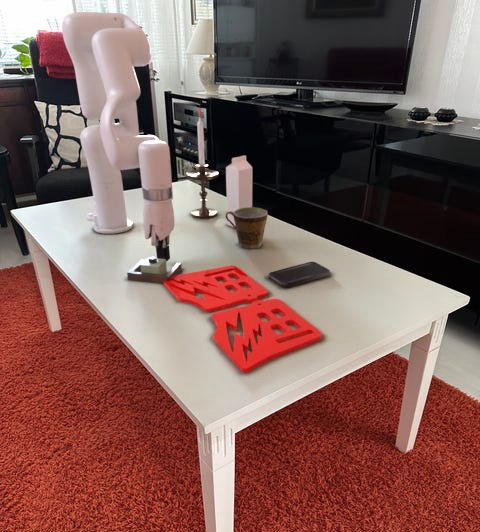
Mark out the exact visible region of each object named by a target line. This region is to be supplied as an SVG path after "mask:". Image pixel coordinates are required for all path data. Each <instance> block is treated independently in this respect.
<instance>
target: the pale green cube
mask: <svg viewBox="0 0 480 532" xmlns="http://www.w3.org/2000/svg"><path fill="white" fill-rule="evenodd" d="M145 259H146V260H145V261H144V262H143V263H142V264H141V265H140V267H141V272H143V273H153V274H162V275H166V274H167V273H168V268H167V261H166V259H158V258H157V255H151V256H149V257H147V258H145Z"/></svg>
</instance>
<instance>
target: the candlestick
mask: <svg viewBox="0 0 480 532" xmlns="http://www.w3.org/2000/svg"><path fill="white" fill-rule="evenodd" d="M201 116H202V110H201V107H199V108H198V121H197V123H196V126H197V148H198V163H197V164H196V165H195V166H196V167H198V169H192V170H189V171H187V172H186V173H185V174H186V178H187V179H189V180H193V181H198V182H199V181H200V191H199V193H198V194H199V196H200V199H199V202H201V208H200V207H199V208H196V209H193V210H192V211H191V217H193V218H195V219H201V220H202V219H205V220H206V219H213V218H215V217H217V215H218V210H216V209H215V208H210V207H207V202H208V199H207V196H208V192H207V191H206V183H205V182H206V181H210V180H214V179H217V178H219V171H217V170H215V169H210V168H209V169H206V167H208V166H209V164H207V163H206V161H205V158H206V157H205V135H204V134H205V133H204V122H203V121H202V117H201Z"/></svg>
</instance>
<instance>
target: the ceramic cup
mask: <svg viewBox="0 0 480 532" xmlns="http://www.w3.org/2000/svg"><path fill="white" fill-rule="evenodd" d="M228 214H231V215H233V216H234V221H235V225H234V224H233V223H232V222H231V221H230V220H229V219H228V217H227V215H228ZM268 215H269V214H268V210H266V209H265V208H264V209H263V208H262V207H261V208H260V207H256V206H255V207H253V206H252V207H246V208H240V209H237V210H235V211H234V212H231V211H230V212H227V211H226V214H225V219H226V221H227V220H228V221H229V222H230V223H231V224H232V225H233V227H232V228H234V229H235V230H236V237H237V241H238V245H239V246H240V247H241V248H242V249H248V250H253V249H258V248H260V247H261V246H262V244H263V239H264V235H265V229H266V224H267V221H268V220H267V219H268Z"/></svg>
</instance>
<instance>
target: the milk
mask: <svg viewBox="0 0 480 532" xmlns="http://www.w3.org/2000/svg"><path fill="white" fill-rule="evenodd" d="M225 183H226V184H225V185H226V186H225V189H226V190H225V191H226V213H227V212H230V211H231V212H234V211H235V210H237V209H240V208H246V207H253V166H252V165H251V164H250V163H249V162H248V161H247V155H240V156H236V157H232V158H231V163H230V164H229V165H227V166H226V167H225ZM227 217H228V219H229V220H230V221H231V222H232V223H233V224H234V225H235V221H234V216H233V215H231V214H228V215H227ZM226 225H227V226H229V227H231V228H234V227H233V225H232V224H231V223H230V222H229V221H228V220H227V219H226Z"/></svg>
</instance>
